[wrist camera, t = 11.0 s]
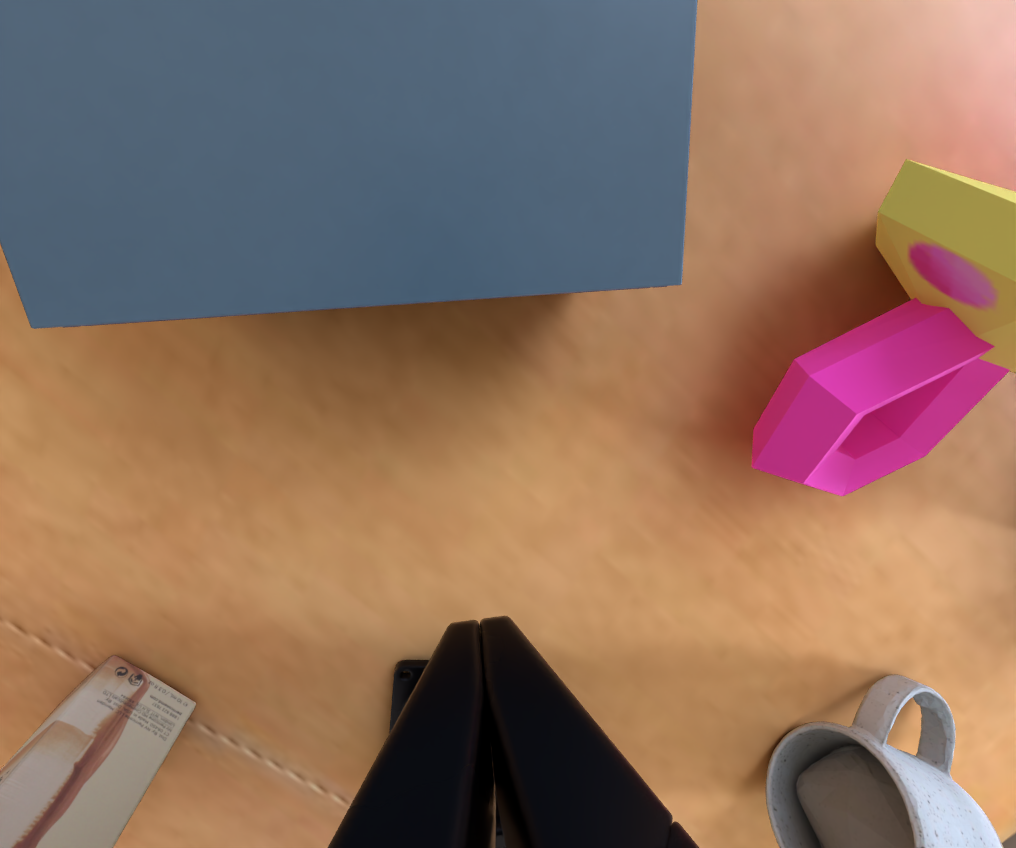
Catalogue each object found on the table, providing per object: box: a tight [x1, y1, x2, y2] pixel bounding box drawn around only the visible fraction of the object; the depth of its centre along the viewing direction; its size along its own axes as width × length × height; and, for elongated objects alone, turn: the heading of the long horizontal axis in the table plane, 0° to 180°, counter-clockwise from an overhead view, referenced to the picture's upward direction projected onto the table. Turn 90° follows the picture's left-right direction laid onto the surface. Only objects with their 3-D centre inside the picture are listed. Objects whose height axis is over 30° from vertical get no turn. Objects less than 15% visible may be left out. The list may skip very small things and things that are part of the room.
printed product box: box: [0, 655, 196, 848], centre depth 17 cm, size 5×4×10 cm
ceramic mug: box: [765, 675, 1003, 848], centre depth 24 cm, size 11×8×8 cm
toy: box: [752, 159, 1016, 496], centre depth 15 cm, size 10×18×10 cm, turn 148°
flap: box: [0, 0, 697, 329], centre depth 9 cm, size 6×13×1 cm, turn 93°
